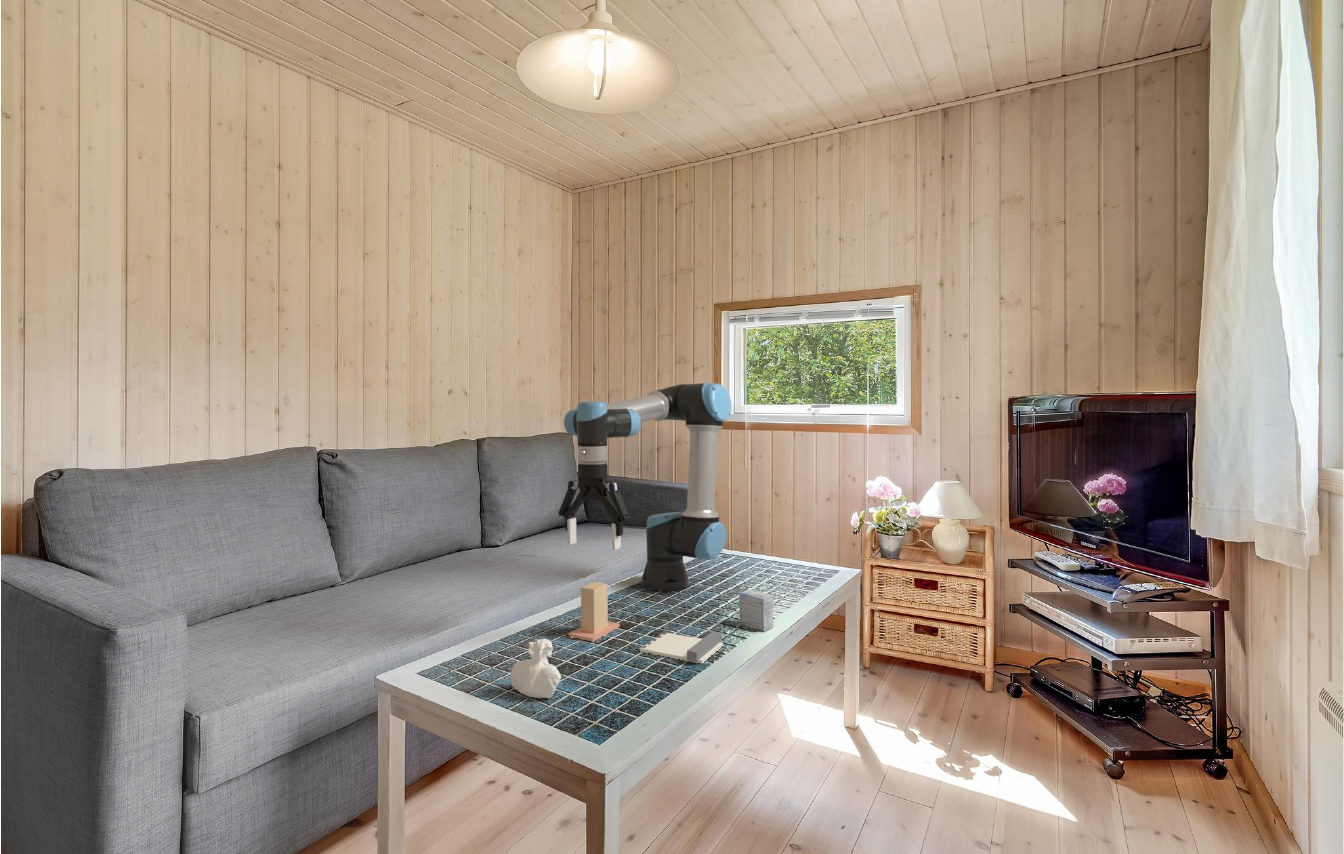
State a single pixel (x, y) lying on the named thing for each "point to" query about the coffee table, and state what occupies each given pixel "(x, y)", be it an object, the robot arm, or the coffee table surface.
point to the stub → (594, 613)
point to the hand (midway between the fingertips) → (593, 546)
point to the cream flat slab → (684, 646)
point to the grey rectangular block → (756, 610)
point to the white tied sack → (536, 672)
